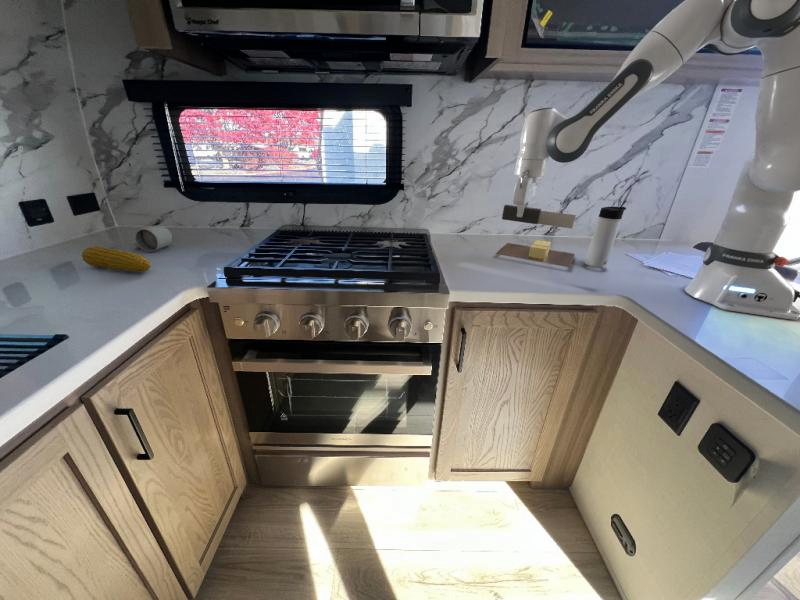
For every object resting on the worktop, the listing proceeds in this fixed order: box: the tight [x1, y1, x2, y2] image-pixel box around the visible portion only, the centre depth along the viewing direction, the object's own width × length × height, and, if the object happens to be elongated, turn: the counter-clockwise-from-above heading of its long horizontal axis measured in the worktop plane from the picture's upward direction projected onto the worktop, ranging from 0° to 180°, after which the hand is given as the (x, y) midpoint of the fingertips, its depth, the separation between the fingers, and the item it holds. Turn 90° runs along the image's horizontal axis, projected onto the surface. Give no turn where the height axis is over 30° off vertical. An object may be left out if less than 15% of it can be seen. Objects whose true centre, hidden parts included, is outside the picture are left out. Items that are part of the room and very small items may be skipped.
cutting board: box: [495, 242, 576, 268], centre depth 117 cm, size 24×17×2 cm
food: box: [81, 246, 151, 273], centre depth 93 cm, size 21×6×6 cm, turn 78°
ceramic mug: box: [134, 225, 173, 253], centre depth 111 cm, size 11×8×8 cm
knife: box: [501, 204, 576, 229], centre depth 104 cm, size 21×3×4 cm, turn 60°
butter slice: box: [529, 244, 547, 259], centre depth 113 cm, size 5×3×4 cm, turn 60°
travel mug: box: [584, 206, 627, 272], centre depth 105 cm, size 6×7×20 cm
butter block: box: [532, 239, 552, 255], centre depth 118 cm, size 5×7×4 cm
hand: (521, 215), depth 106 cm, fingers closed on knife, 2 cm apart
